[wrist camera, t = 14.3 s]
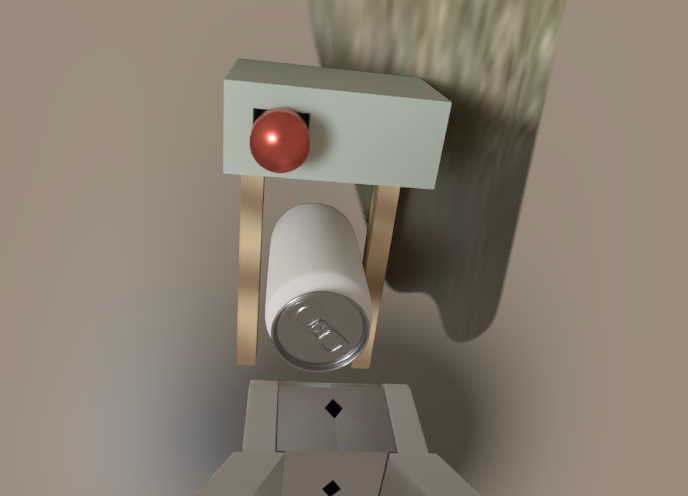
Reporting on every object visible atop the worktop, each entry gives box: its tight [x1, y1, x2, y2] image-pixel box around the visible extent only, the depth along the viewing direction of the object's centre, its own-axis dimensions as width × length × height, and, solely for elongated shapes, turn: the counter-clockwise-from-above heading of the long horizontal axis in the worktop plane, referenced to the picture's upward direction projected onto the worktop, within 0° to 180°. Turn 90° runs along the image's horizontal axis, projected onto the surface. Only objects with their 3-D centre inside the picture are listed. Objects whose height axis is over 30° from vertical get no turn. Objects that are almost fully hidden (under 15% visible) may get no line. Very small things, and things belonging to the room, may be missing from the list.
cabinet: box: [223, 58, 452, 189], centre depth 31 cm, size 5×12×8 cm, turn 84°
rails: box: [237, 175, 400, 368], centre depth 40 cm, size 17×11×2 cm, turn 173°
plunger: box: [250, 108, 310, 173], centre depth 29 cm, size 3×3×8 cm
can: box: [265, 203, 373, 372], centre depth 34 cm, size 6×6×12 cm
